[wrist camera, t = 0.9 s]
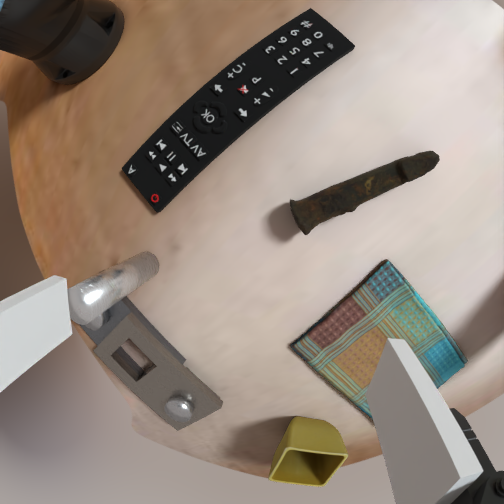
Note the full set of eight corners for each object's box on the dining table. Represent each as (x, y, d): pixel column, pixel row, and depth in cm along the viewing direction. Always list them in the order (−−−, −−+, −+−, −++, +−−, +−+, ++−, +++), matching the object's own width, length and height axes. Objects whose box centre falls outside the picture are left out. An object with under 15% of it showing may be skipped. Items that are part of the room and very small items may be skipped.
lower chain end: (74, 308, 40) (61, 316, 37) (104, 270, 38) (90, 276, 34) (147, 387, 41) (138, 400, 38) (185, 359, 39) (178, 372, 36)
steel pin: (131, 263, 37) (58, 302, 22) (146, 245, 36) (73, 279, 22) (148, 282, 37) (81, 331, 23) (164, 266, 37) (98, 311, 22)
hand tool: (300, 232, 34) (302, 239, 30) (286, 200, 33) (287, 202, 29) (436, 178, 31) (454, 177, 26) (425, 147, 30) (442, 143, 26)
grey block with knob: (103, 341, 41) (87, 355, 36) (136, 307, 38) (120, 320, 34) (183, 418, 42) (174, 436, 38) (225, 395, 40) (218, 414, 35)
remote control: (125, 170, 35) (118, 170, 33) (309, 14, 28) (310, 6, 26) (160, 213, 36) (153, 214, 34) (352, 51, 29) (355, 44, 27)
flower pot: (287, 403, 39) (286, 447, 30) (342, 412, 39) (349, 455, 30) (271, 439, 41) (267, 480, 32) (321, 447, 41) (324, 487, 32)
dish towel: (382, 423, 39) (386, 433, 37) (287, 344, 38) (287, 354, 35) (464, 356, 35) (471, 364, 33) (386, 253, 34) (393, 258, 31)
